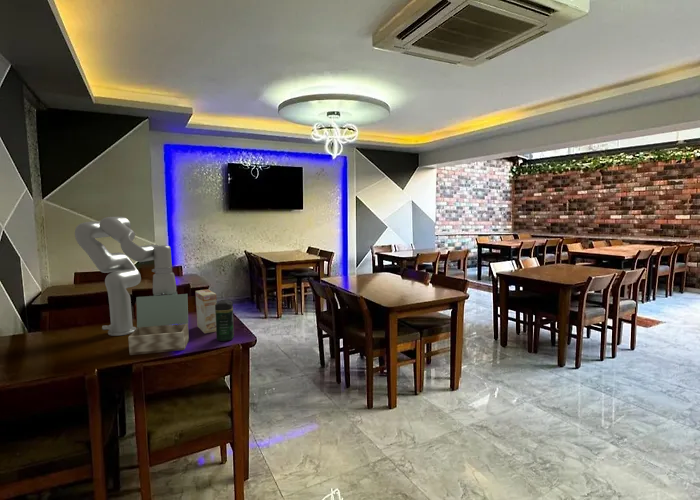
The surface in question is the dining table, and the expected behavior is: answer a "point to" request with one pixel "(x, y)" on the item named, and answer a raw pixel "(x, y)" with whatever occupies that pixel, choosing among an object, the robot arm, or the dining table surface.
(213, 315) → the coffeecake box
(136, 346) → the chest
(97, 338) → the dining table surface
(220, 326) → the coffee jar
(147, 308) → the lid
